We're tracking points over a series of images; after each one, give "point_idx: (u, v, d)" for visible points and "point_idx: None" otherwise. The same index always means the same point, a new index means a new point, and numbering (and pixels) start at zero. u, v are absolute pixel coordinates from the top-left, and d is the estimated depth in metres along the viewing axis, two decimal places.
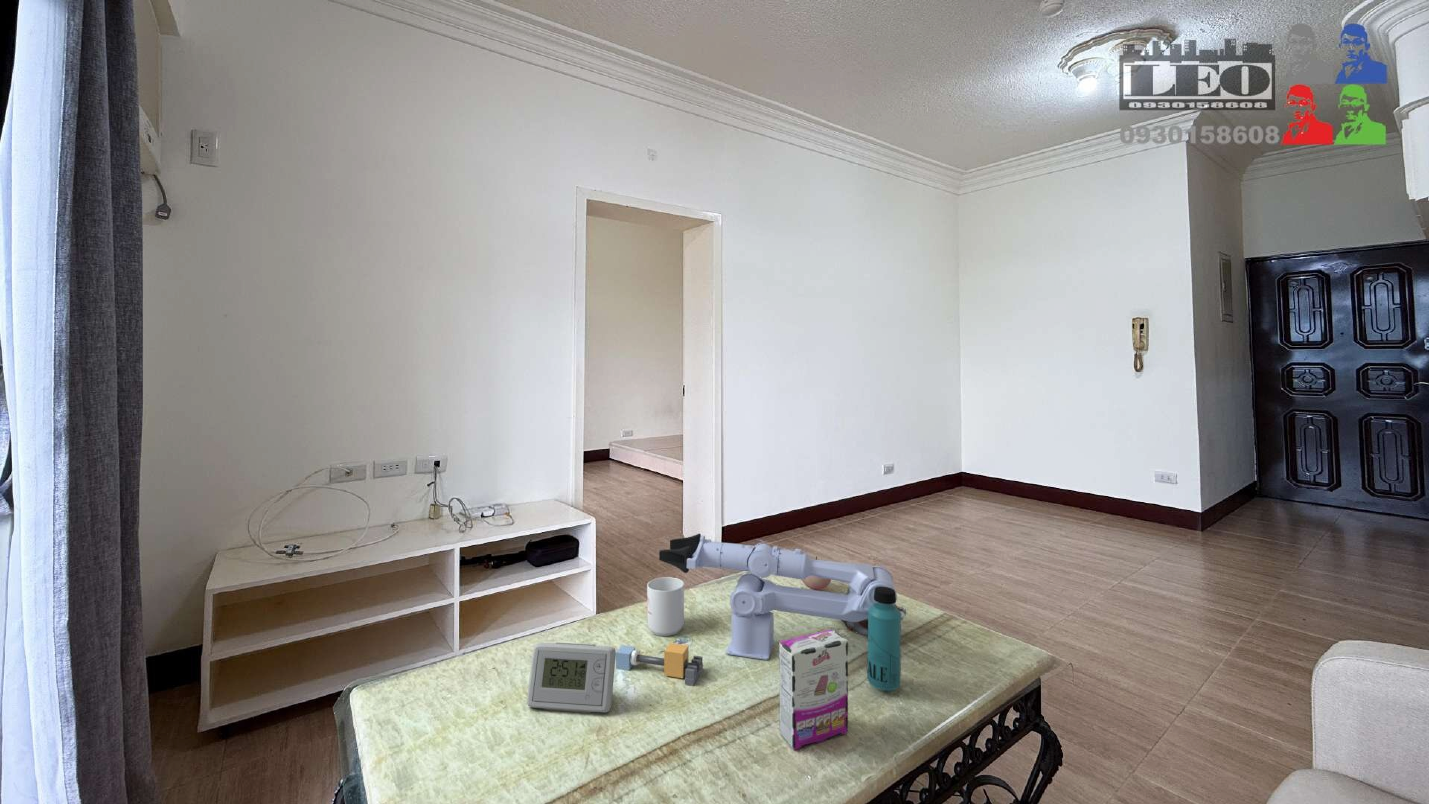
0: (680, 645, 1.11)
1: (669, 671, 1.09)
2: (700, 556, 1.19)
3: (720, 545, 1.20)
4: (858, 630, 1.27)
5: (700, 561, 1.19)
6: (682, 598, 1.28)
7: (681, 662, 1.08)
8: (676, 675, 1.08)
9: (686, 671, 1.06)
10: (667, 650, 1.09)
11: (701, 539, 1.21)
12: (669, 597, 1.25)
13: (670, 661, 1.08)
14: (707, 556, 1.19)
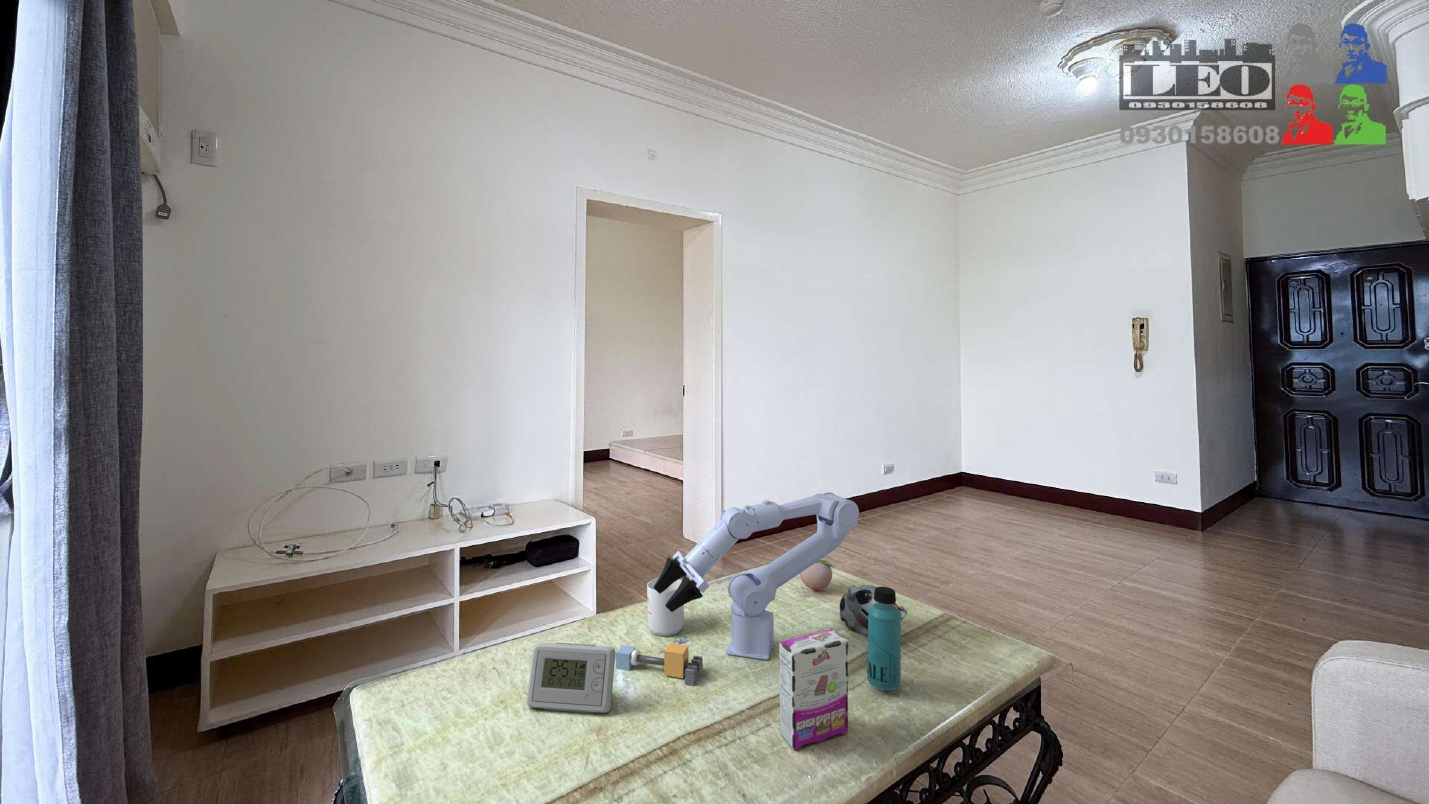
0: (680, 645, 1.11)
1: (669, 671, 1.09)
2: (697, 572, 1.13)
3: (701, 548, 1.14)
4: (859, 630, 1.27)
5: (700, 575, 1.13)
6: None
7: (681, 662, 1.08)
8: (676, 675, 1.08)
9: (686, 671, 1.06)
10: (667, 650, 1.09)
11: (684, 560, 1.13)
12: (669, 597, 1.25)
13: (670, 661, 1.08)
14: (702, 566, 1.13)
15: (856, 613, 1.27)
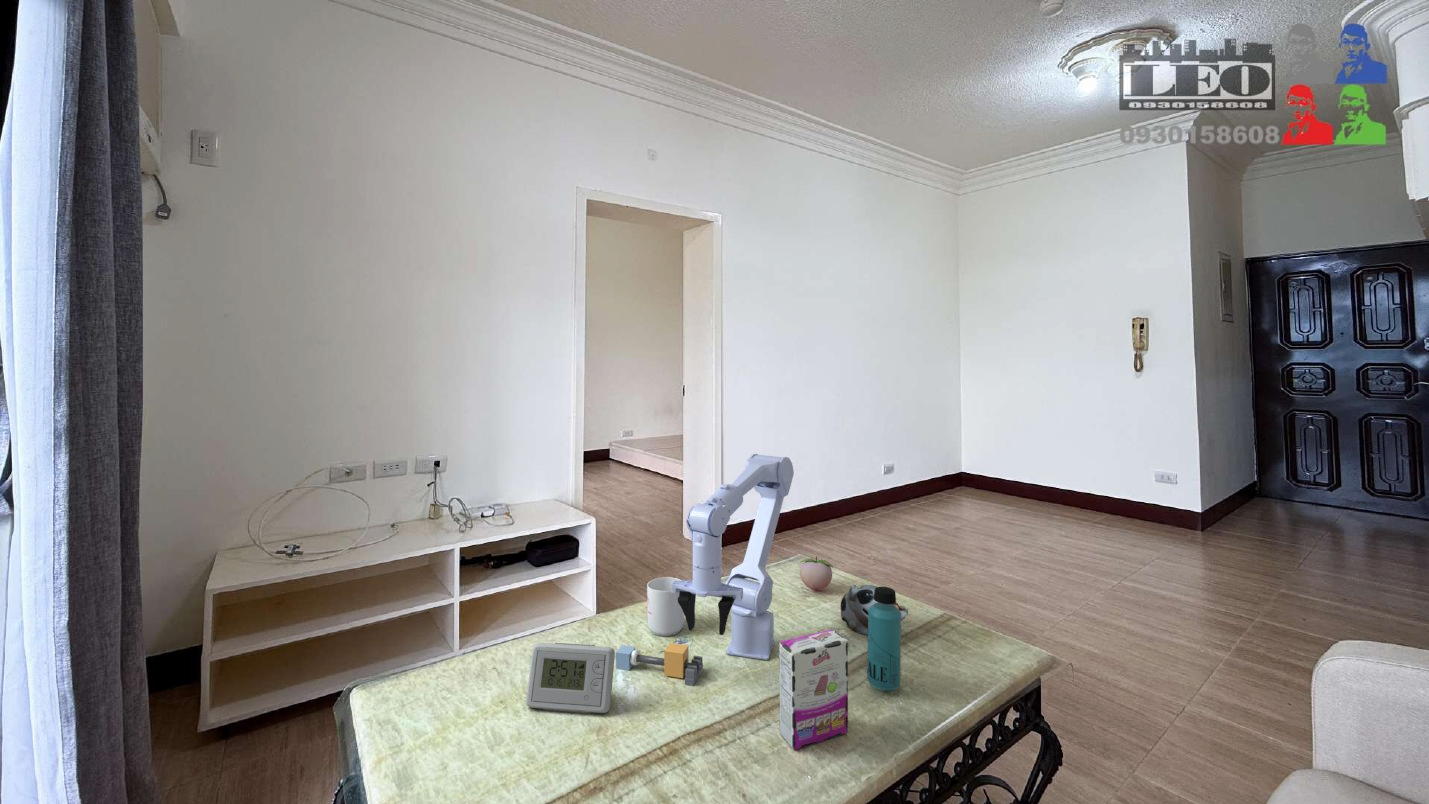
0: (680, 645, 1.11)
1: (669, 671, 1.09)
2: (720, 588, 1.06)
3: (708, 570, 1.04)
4: (860, 630, 1.27)
5: (721, 585, 1.07)
6: None
7: (681, 662, 1.08)
8: (676, 675, 1.08)
9: (686, 671, 1.06)
10: (667, 650, 1.09)
11: (706, 594, 1.04)
12: (669, 597, 1.25)
13: (670, 661, 1.08)
14: (719, 580, 1.06)
15: (858, 613, 1.27)
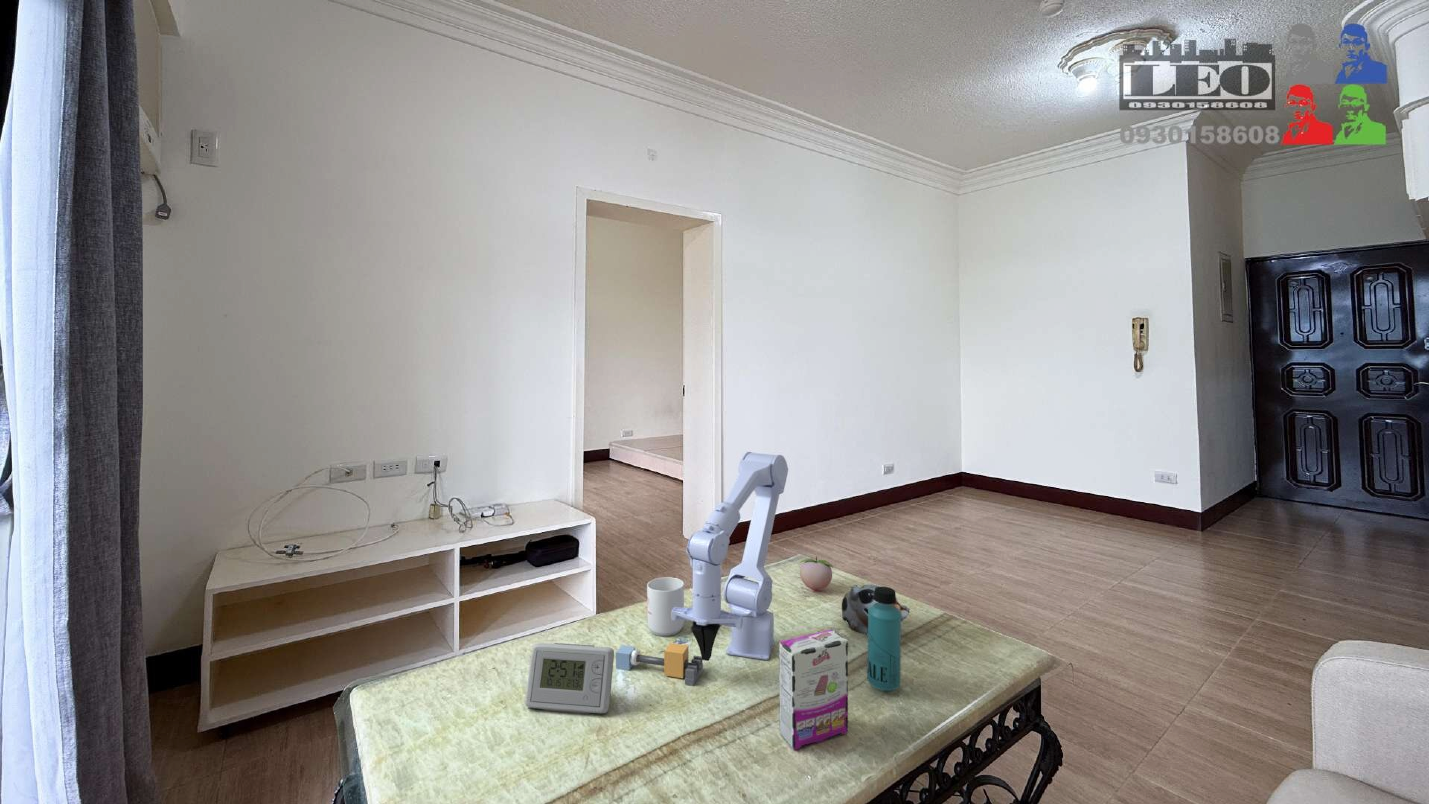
0: (680, 645, 1.11)
1: (669, 671, 1.09)
2: (720, 615, 1.07)
3: (708, 599, 1.05)
4: (861, 629, 1.27)
5: (721, 613, 1.08)
6: (682, 598, 1.28)
7: (681, 662, 1.08)
8: (676, 675, 1.08)
9: (686, 671, 1.06)
10: (667, 650, 1.09)
11: (706, 623, 1.04)
12: (669, 597, 1.25)
13: (670, 661, 1.08)
14: (719, 608, 1.06)
15: (859, 613, 1.27)
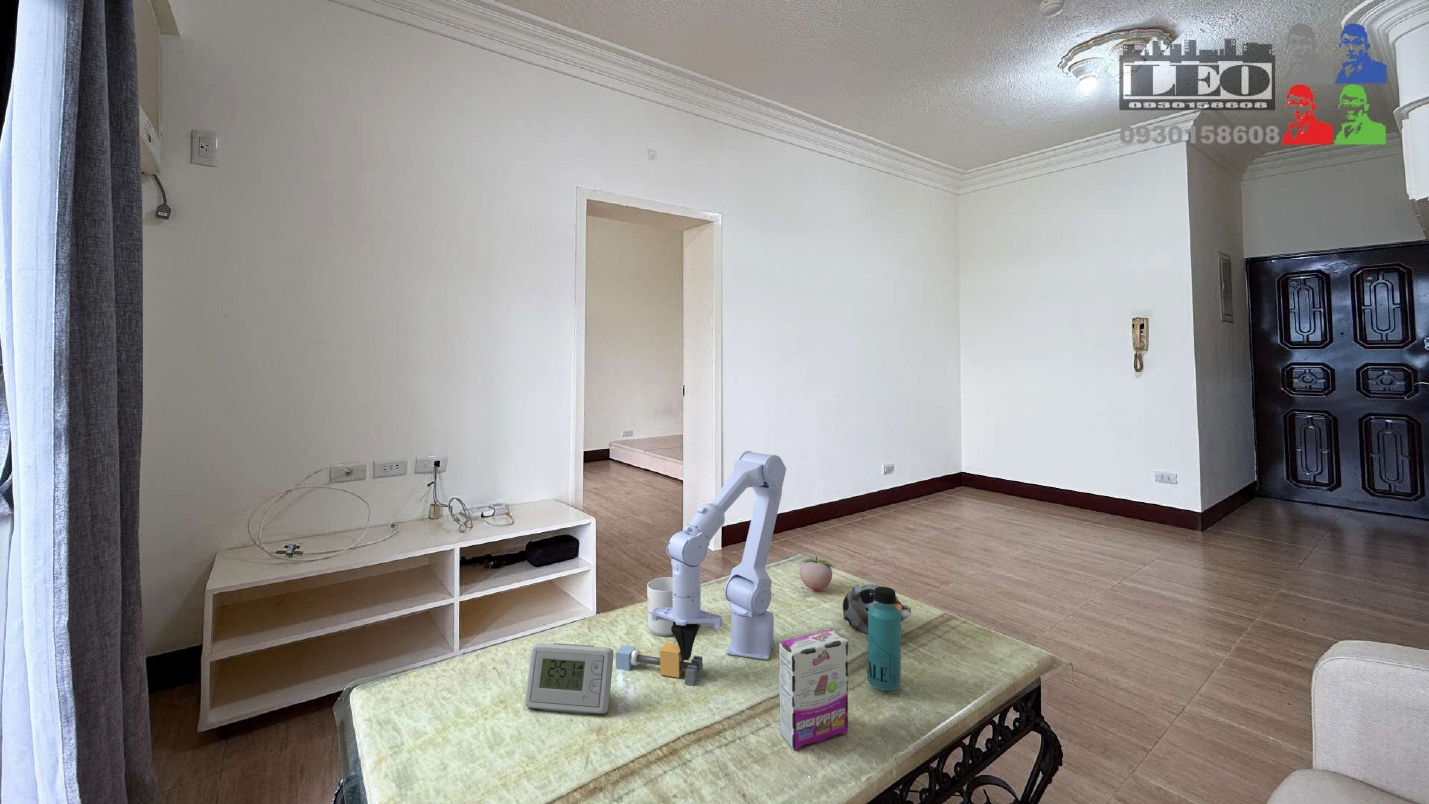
0: (676, 644, 1.11)
1: (664, 670, 1.09)
2: (699, 615, 1.08)
3: (687, 599, 1.06)
4: (863, 629, 1.27)
5: (700, 613, 1.09)
6: None
7: (677, 661, 1.08)
8: (672, 674, 1.08)
9: (686, 671, 1.06)
10: (663, 649, 1.09)
11: (685, 623, 1.05)
12: (669, 597, 1.25)
13: (666, 660, 1.09)
14: (699, 608, 1.08)
15: (861, 613, 1.27)
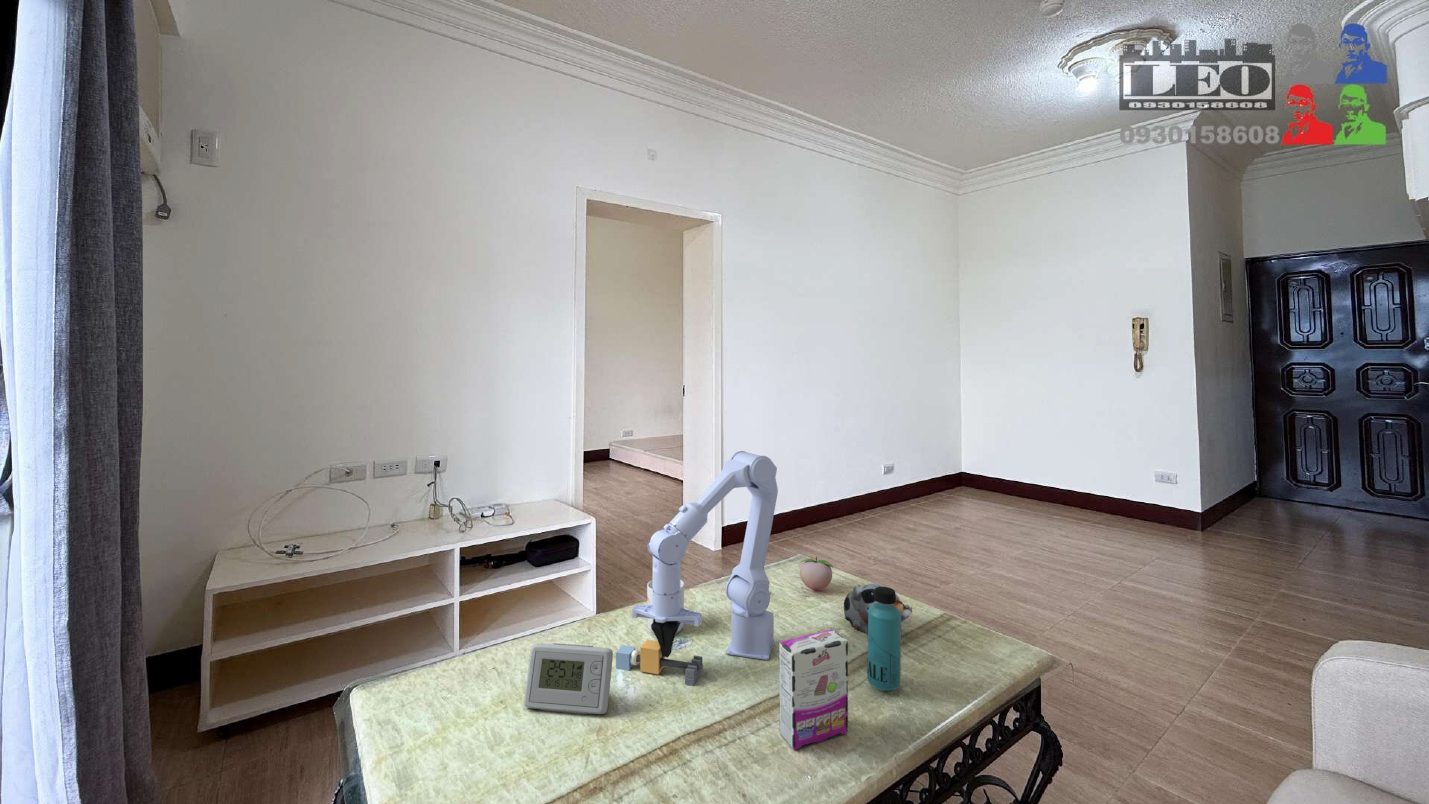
0: (657, 641, 1.13)
1: (645, 667, 1.10)
2: (679, 613, 1.09)
3: (666, 597, 1.07)
4: (864, 629, 1.28)
5: (680, 610, 1.10)
6: (682, 598, 1.28)
7: (657, 658, 1.09)
8: (652, 671, 1.10)
9: (686, 671, 1.06)
10: (643, 646, 1.10)
11: (664, 620, 1.06)
12: None
13: (646, 657, 1.10)
14: (678, 605, 1.09)
15: (862, 612, 1.27)
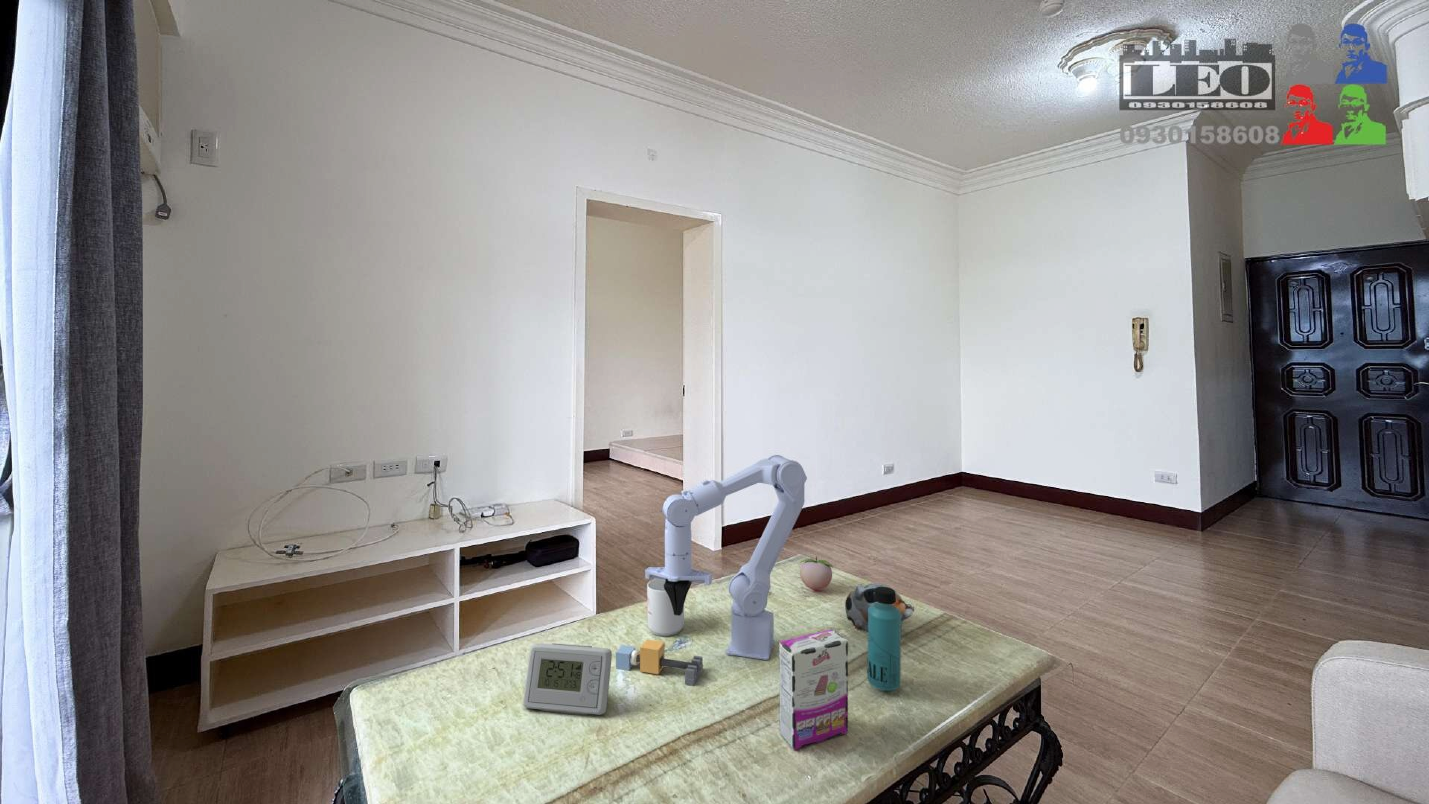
0: (657, 641, 1.13)
1: (644, 667, 1.10)
2: (690, 573, 1.14)
3: (678, 557, 1.12)
4: None
5: (691, 571, 1.15)
6: None
7: (656, 658, 1.09)
8: (652, 671, 1.10)
9: (686, 671, 1.06)
10: (643, 646, 1.10)
11: (677, 579, 1.12)
12: None
13: (646, 657, 1.10)
14: (690, 566, 1.14)
15: (864, 612, 1.28)
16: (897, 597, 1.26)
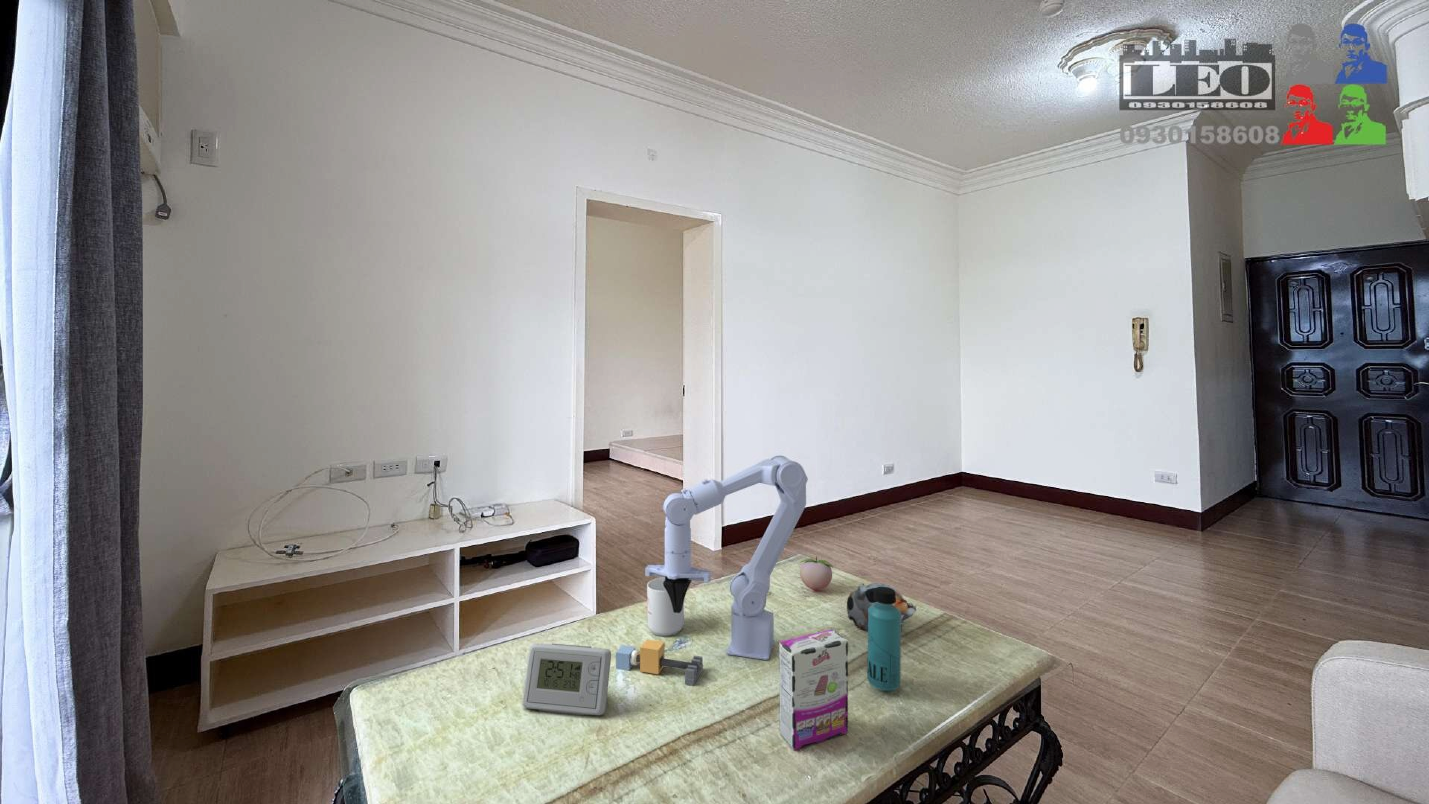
0: (657, 641, 1.13)
1: (644, 667, 1.10)
2: (690, 571, 1.15)
3: (678, 555, 1.14)
4: None
5: (691, 569, 1.17)
6: None
7: (656, 658, 1.09)
8: (652, 671, 1.10)
9: (686, 671, 1.06)
10: (643, 646, 1.10)
11: (676, 577, 1.13)
12: (669, 597, 1.25)
13: (646, 657, 1.10)
14: (689, 564, 1.15)
15: (866, 612, 1.28)
16: (899, 596, 1.26)
